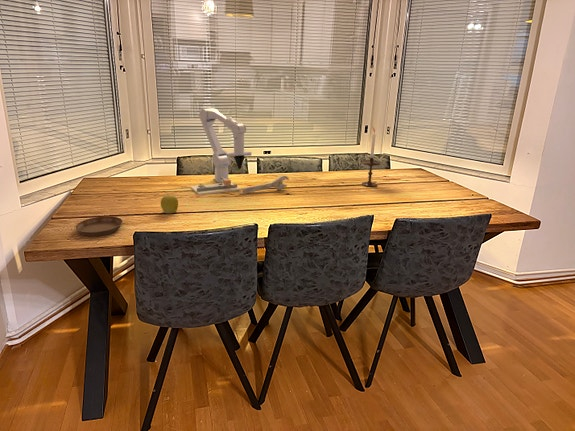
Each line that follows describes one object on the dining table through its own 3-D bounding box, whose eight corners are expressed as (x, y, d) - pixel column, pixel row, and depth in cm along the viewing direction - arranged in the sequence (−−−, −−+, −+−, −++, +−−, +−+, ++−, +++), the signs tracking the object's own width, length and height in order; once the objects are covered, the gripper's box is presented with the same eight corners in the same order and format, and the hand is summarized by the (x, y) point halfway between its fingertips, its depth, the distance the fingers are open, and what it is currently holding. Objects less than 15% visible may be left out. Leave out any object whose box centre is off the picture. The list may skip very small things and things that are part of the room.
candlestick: (358, 186, 242) (363, 127, 231) (362, 182, 252) (367, 125, 240) (376, 188, 238) (382, 128, 227) (379, 184, 248) (385, 126, 236)
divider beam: (192, 188, 228) (192, 184, 227) (230, 184, 238) (230, 180, 237) (197, 193, 219) (197, 189, 218) (237, 189, 230) (237, 184, 229)
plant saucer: (87, 242, 154) (86, 234, 153) (69, 230, 165) (68, 223, 164) (131, 230, 167) (130, 223, 166) (111, 219, 178) (110, 213, 177)
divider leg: (219, 183, 234) (218, 176, 233) (224, 183, 236) (223, 175, 234) (225, 188, 225) (225, 180, 223) (231, 187, 226) (230, 180, 225)
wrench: (239, 198, 222) (288, 187, 233) (240, 199, 221) (289, 188, 232) (237, 184, 219) (287, 174, 230) (238, 185, 218) (288, 175, 229)
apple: (171, 214, 183) (165, 193, 181) (160, 215, 187) (154, 195, 186) (184, 209, 189) (178, 189, 188) (173, 211, 194) (167, 191, 192)
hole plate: (190, 187, 230) (190, 186, 229) (230, 183, 240) (230, 181, 240) (198, 195, 216) (198, 193, 216) (240, 190, 227) (240, 188, 227)
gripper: (229, 147, 224) (230, 171, 228) (253, 145, 230) (253, 168, 235) (225, 145, 230) (225, 168, 234) (248, 143, 236) (248, 166, 241)
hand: (239, 168), depth 235 cm, fingers closed
